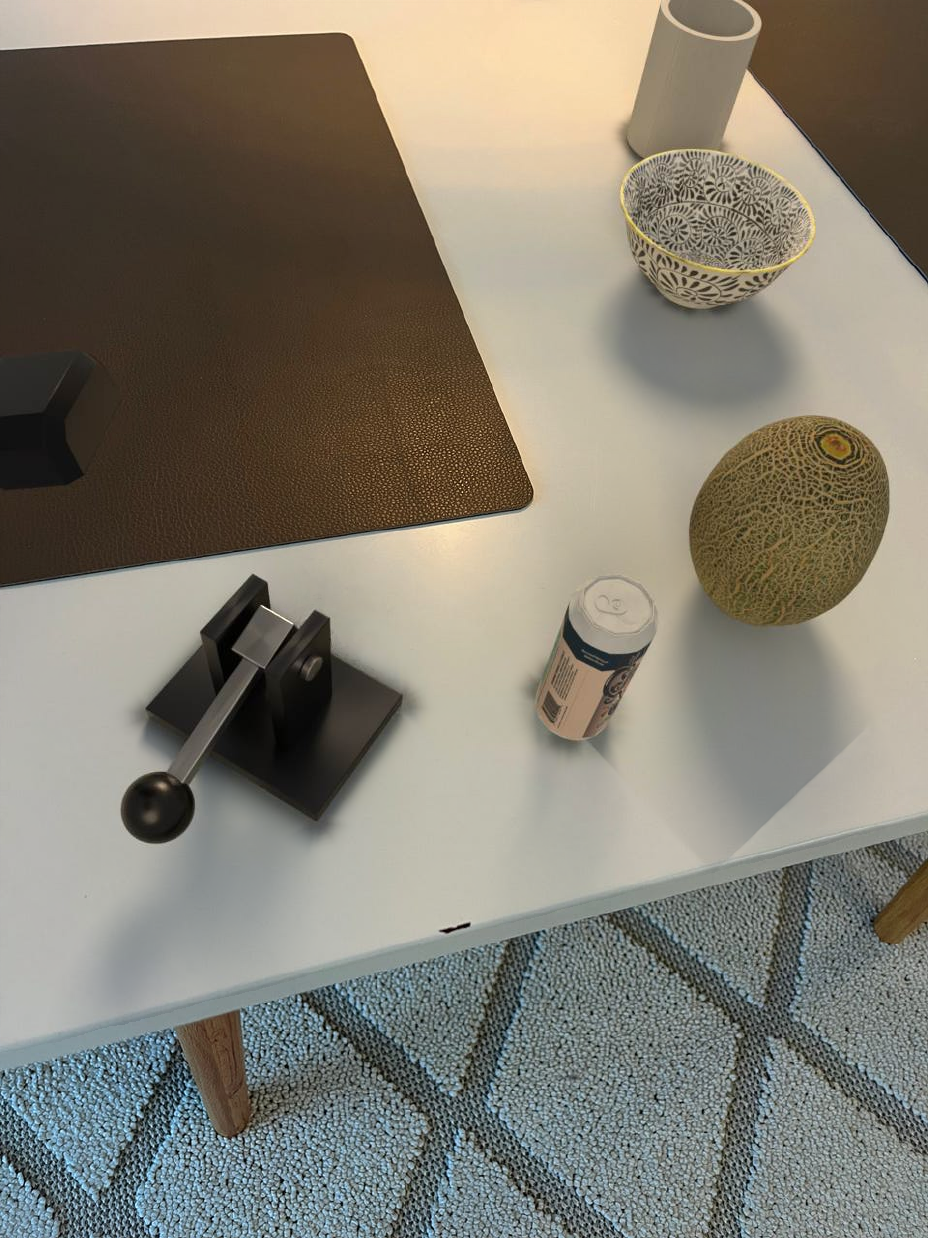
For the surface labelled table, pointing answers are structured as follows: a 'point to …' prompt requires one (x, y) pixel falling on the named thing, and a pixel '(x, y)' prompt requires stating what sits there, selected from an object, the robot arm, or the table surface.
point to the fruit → (790, 520)
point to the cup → (692, 75)
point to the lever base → (281, 706)
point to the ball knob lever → (202, 738)
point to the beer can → (595, 655)
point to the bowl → (712, 225)
